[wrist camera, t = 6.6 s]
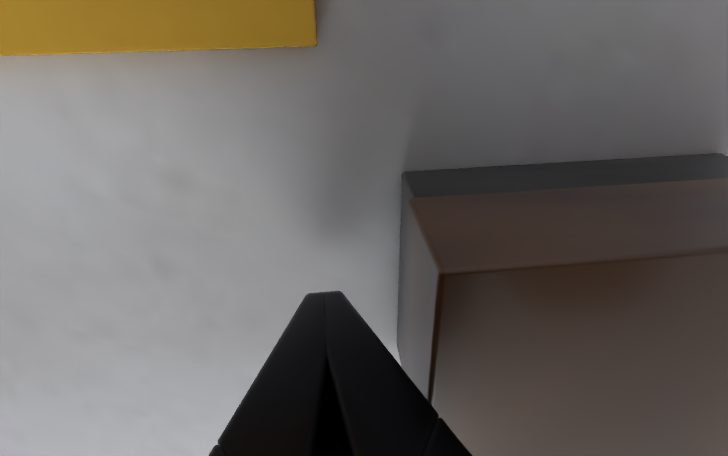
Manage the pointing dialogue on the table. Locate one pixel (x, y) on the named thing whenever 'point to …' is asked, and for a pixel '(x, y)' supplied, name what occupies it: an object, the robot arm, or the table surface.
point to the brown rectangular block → (570, 305)
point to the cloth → (153, 25)
